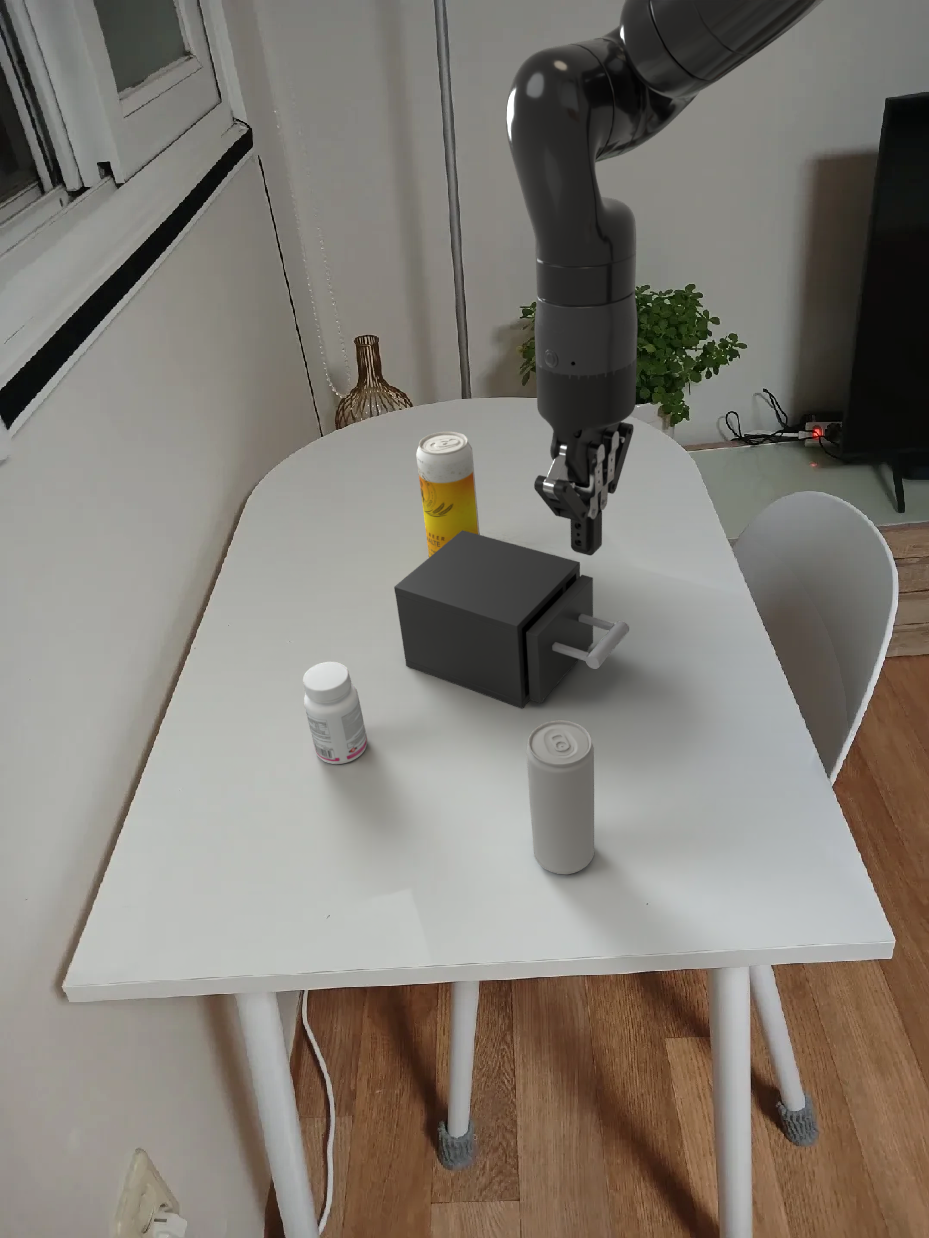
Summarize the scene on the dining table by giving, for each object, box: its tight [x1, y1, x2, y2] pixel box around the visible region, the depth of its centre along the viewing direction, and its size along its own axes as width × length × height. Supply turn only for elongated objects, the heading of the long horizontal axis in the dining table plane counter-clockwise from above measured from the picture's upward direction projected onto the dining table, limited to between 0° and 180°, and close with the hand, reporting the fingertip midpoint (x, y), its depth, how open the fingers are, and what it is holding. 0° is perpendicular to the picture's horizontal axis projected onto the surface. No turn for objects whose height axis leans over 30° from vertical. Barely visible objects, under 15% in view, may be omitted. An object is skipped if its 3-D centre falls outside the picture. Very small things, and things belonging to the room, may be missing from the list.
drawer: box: [522, 574, 630, 704], centre depth 91 cm, size 17×10×8 cm, turn 56°
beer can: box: [415, 431, 481, 558], centre depth 107 cm, size 6×6×15 cm
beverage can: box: [526, 719, 595, 875], centre depth 71 cm, size 5×5×12 cm
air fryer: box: [393, 530, 581, 709], centre depth 93 cm, size 14×12×10 cm
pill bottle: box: [302, 661, 368, 765], centre depth 84 cm, size 5×5×8 cm
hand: (586, 549), depth 81 cm, fingers closed
